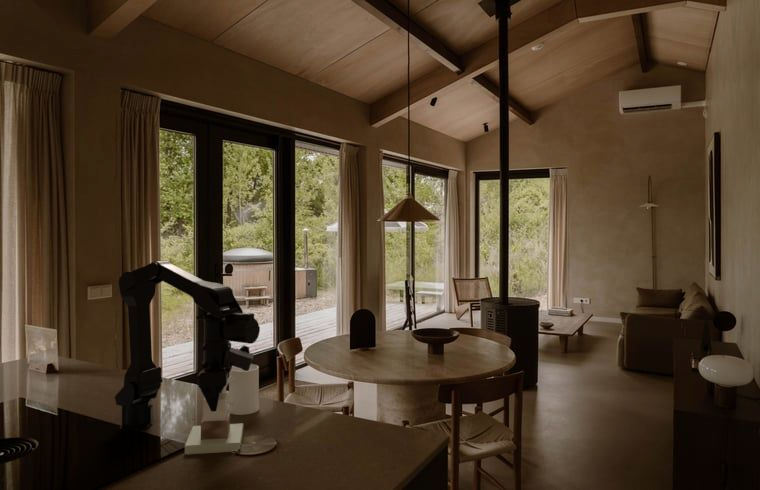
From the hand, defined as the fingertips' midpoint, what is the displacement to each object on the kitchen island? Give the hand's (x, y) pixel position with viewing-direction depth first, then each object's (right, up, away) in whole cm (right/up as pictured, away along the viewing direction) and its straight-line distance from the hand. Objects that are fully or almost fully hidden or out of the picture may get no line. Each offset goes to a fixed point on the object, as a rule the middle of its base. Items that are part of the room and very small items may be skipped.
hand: (216, 404), depth 125 cm
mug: (0, -9, +22) cm, 23 cm away
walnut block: (0, -7, 0) cm, 7 cm away
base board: (0, -9, 0) cm, 9 cm away
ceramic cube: (0, -3, 0) cm, 3 cm away
